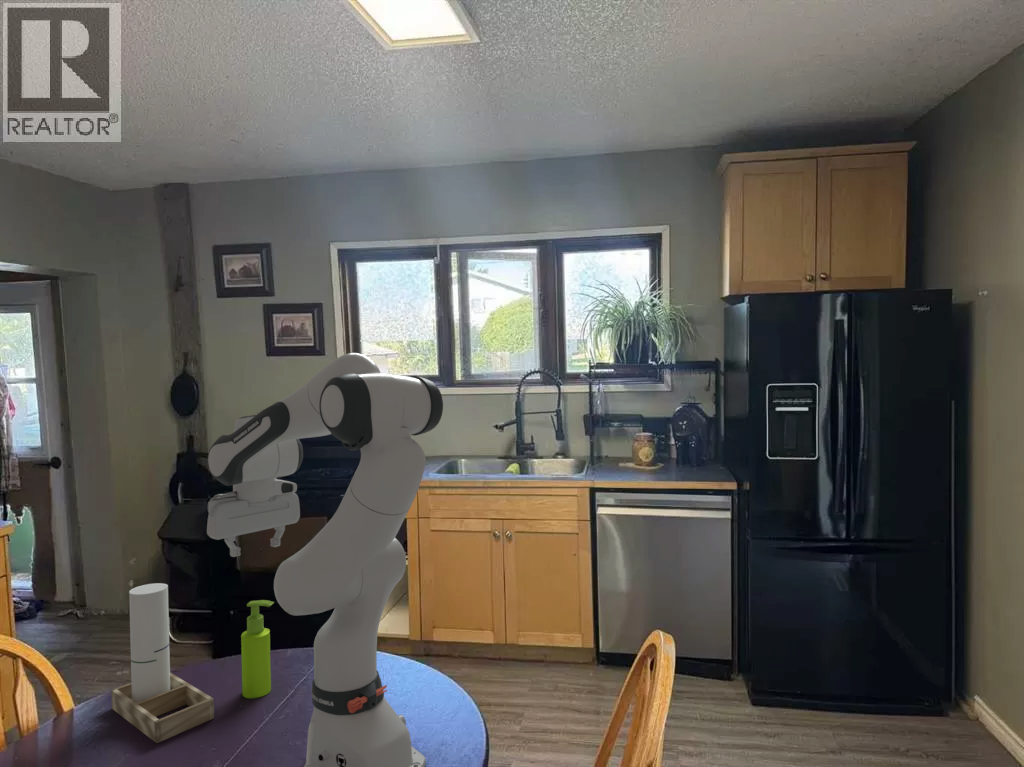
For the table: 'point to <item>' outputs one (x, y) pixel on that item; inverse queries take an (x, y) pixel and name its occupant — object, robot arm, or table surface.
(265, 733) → the table surface
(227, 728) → the table surface
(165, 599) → the cylindrical container
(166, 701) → the frame
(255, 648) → the soap dispenser
